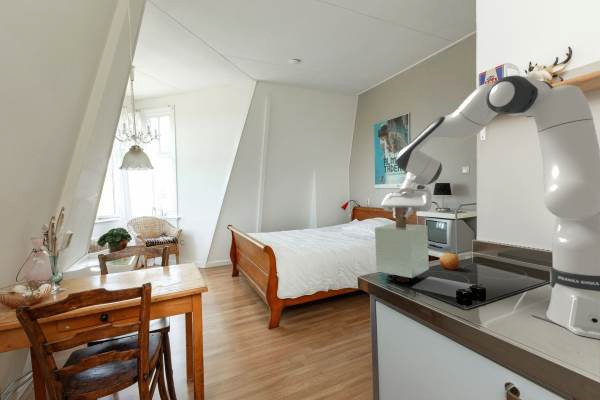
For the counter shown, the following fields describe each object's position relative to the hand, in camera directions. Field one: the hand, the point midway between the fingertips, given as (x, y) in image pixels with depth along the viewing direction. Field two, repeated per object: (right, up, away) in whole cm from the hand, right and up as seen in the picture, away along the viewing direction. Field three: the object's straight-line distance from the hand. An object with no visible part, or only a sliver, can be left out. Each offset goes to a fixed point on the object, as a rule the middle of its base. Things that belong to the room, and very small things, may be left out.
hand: (399, 217), depth 114 cm
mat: (+13, -26, -8) cm, 30 cm away
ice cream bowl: (+2, -27, +1) cm, 27 cm away
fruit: (+28, -25, +15) cm, 41 cm away
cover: (+2, -22, +1) cm, 22 cm away
